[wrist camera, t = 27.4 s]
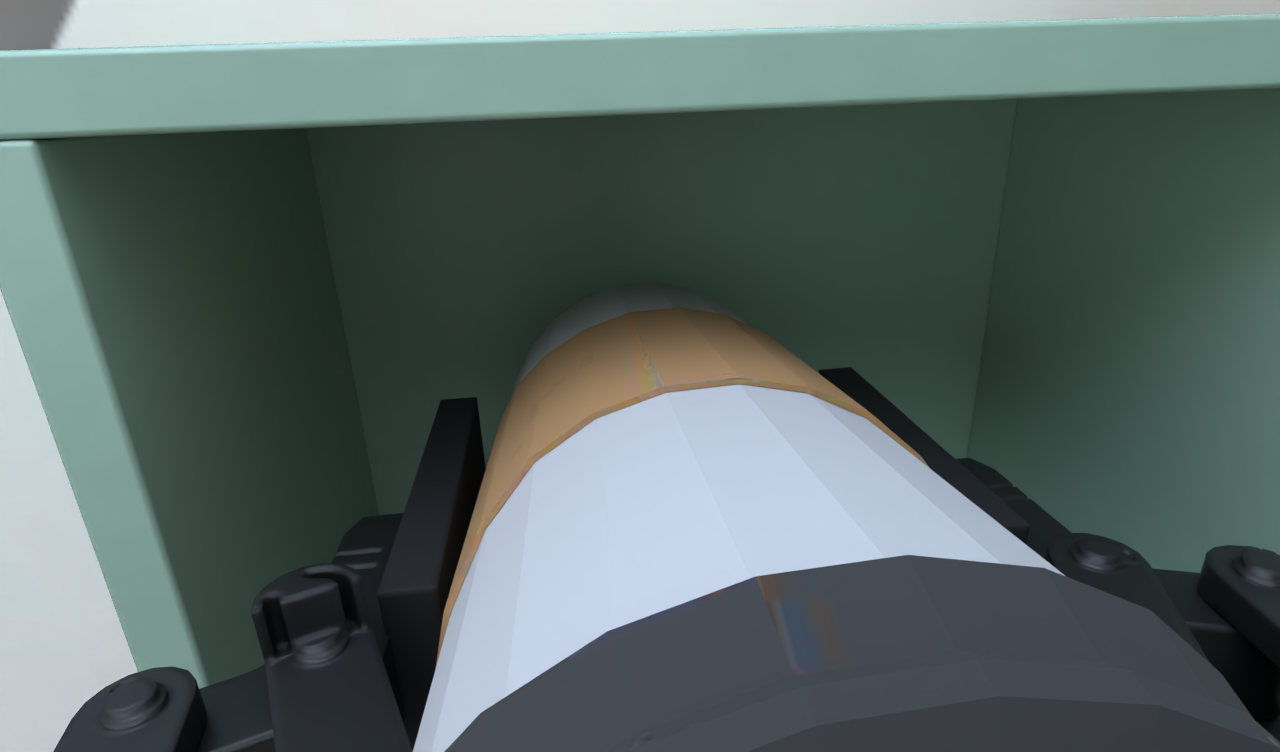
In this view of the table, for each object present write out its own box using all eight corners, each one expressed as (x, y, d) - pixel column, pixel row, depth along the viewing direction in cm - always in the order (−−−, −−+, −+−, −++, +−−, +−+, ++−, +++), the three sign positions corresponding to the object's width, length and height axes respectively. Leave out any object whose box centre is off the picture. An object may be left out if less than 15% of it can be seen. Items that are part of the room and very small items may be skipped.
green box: (376, 609, 23) (252, 998, 13) (269, 76, 18) (-90, 52, 8) (962, 546, 26) (1237, 842, 15) (1034, 50, 20) (1547, 5, 10)
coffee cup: (781, 540, 20) (1293, 1488, 7) (475, 547, 19) (306, 1714, 5) (824, 241, 18) (1921, 801, 4) (467, 228, 16) (47, 977, 2)
